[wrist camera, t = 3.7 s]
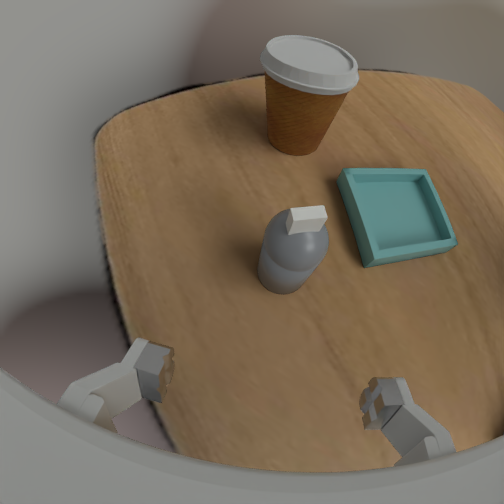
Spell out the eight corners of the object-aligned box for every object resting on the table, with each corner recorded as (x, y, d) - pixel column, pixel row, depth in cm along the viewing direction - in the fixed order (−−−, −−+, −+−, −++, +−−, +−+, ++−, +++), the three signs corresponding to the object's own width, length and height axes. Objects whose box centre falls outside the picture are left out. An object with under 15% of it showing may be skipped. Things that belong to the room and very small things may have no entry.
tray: (416, 180, 30) (425, 169, 28) (446, 252, 26) (458, 244, 24) (336, 181, 29) (343, 168, 26) (364, 268, 25) (374, 259, 23)
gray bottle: (300, 244, 26) (333, 178, 16) (310, 290, 24) (355, 244, 15) (253, 250, 25) (263, 183, 16) (261, 297, 24) (278, 254, 14)
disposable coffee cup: (329, 176, 29) (366, 90, 18) (245, 155, 29) (249, 63, 18) (333, 123, 32) (359, 48, 21) (262, 106, 33) (271, 27, 22)
